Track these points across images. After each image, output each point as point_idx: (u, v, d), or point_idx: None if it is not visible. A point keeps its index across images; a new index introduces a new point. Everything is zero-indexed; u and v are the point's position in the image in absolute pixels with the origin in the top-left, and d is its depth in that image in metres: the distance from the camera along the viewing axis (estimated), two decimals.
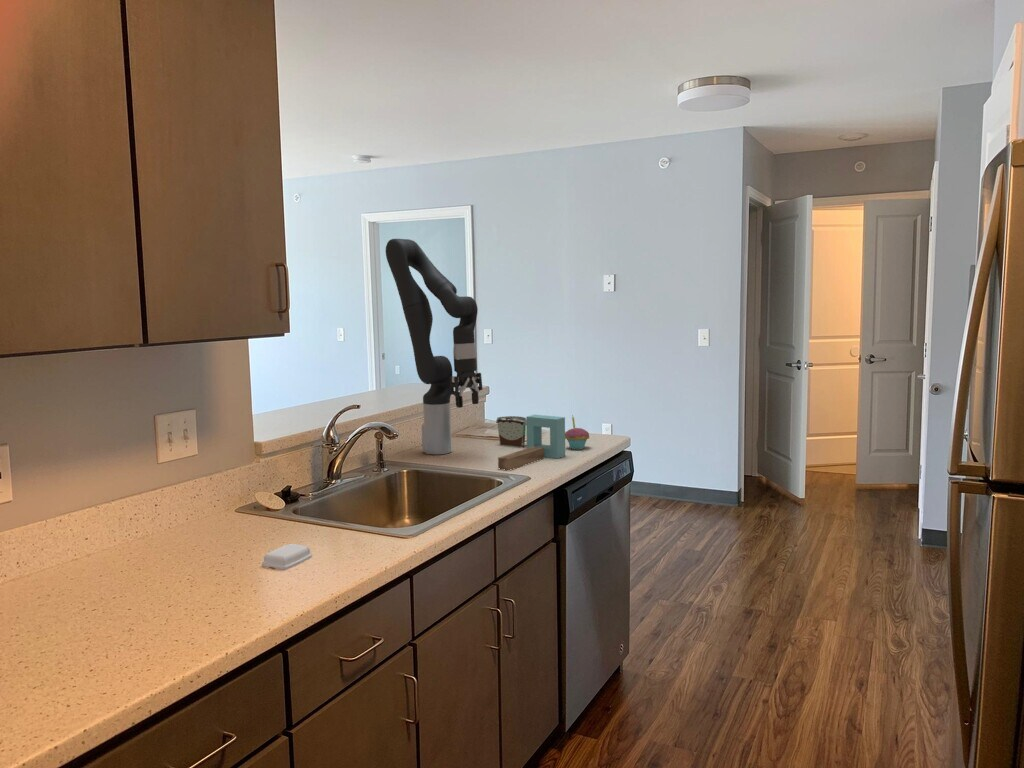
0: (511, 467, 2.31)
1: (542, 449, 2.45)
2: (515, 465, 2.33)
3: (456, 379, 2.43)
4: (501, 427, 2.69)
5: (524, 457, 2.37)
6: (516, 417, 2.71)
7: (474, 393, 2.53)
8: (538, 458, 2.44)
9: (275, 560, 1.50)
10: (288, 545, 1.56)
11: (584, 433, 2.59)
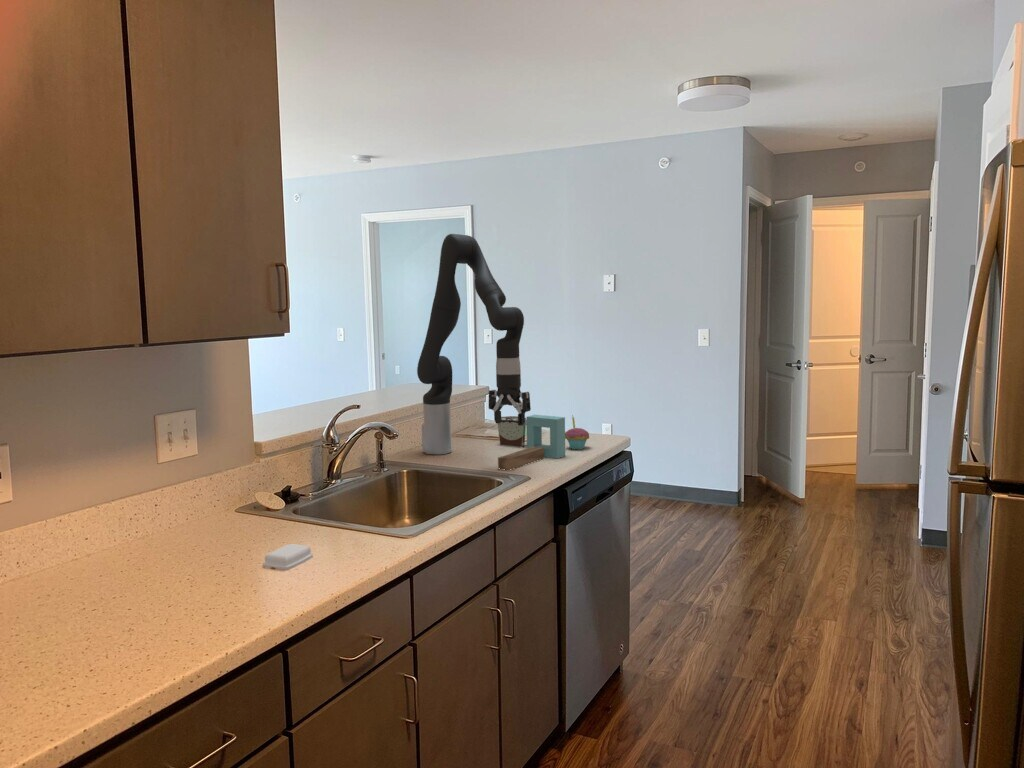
0: (511, 467, 2.31)
1: (542, 449, 2.45)
2: (515, 465, 2.33)
3: None
4: (501, 427, 2.69)
5: (524, 457, 2.37)
6: (516, 417, 2.71)
7: (499, 411, 2.35)
8: (538, 458, 2.44)
9: (277, 560, 1.50)
10: (289, 545, 1.56)
11: (584, 433, 2.59)
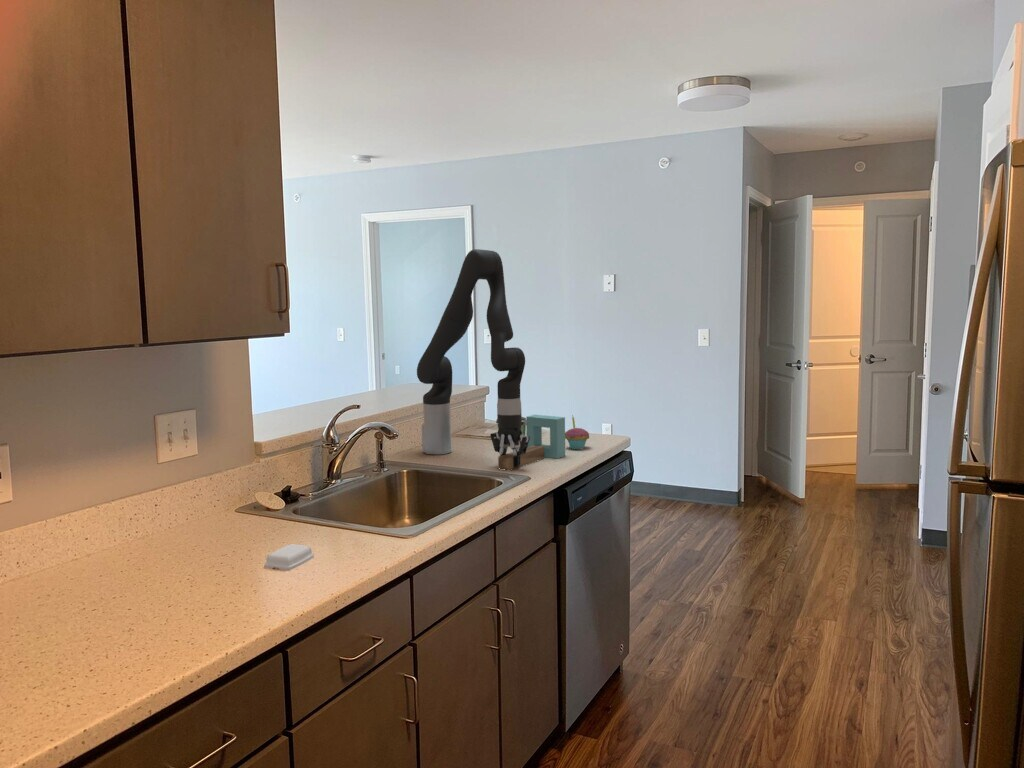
0: (511, 466, 2.31)
1: (542, 448, 2.45)
2: None
3: None
4: None
5: (524, 456, 2.37)
6: None
7: None
8: (538, 457, 2.44)
9: (279, 561, 1.49)
10: (289, 546, 1.56)
11: (584, 433, 2.59)
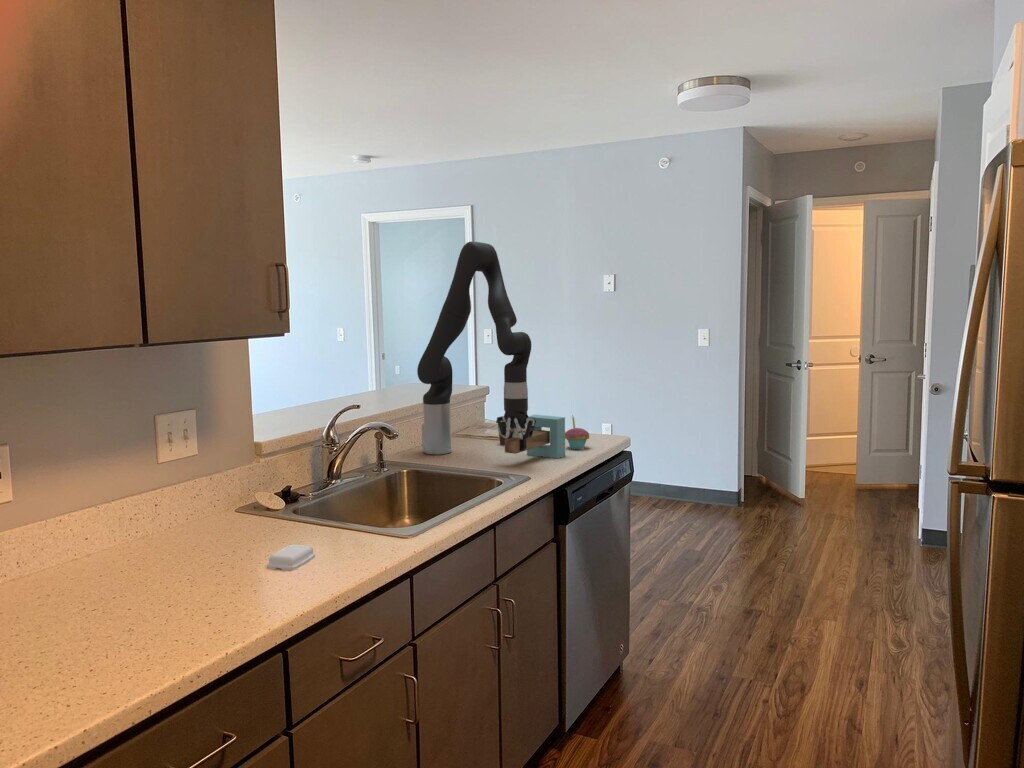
0: (517, 449, 2.34)
1: (548, 432, 2.48)
2: None
3: None
4: None
5: (530, 440, 2.39)
6: None
7: None
8: (544, 441, 2.46)
9: (282, 561, 1.49)
10: (291, 546, 1.55)
11: (584, 433, 2.59)
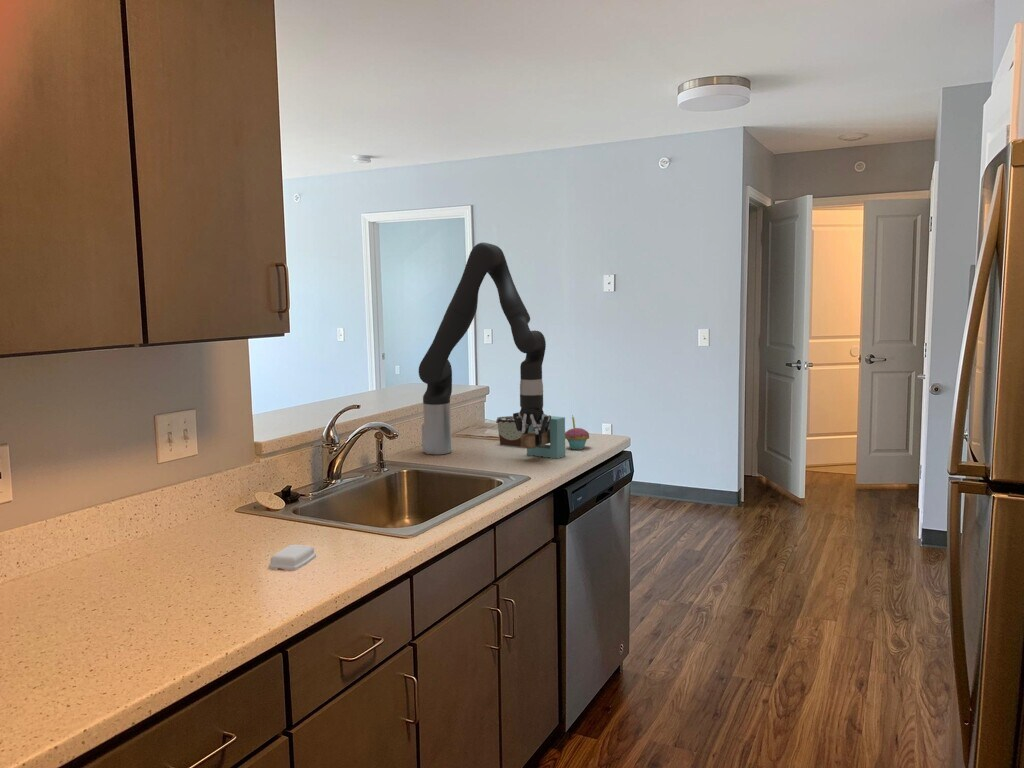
0: (533, 444, 2.41)
1: None
2: None
3: None
4: (501, 427, 2.69)
5: (545, 435, 2.46)
6: None
7: None
8: None
9: (284, 561, 1.49)
10: (291, 546, 1.55)
11: (584, 433, 2.59)
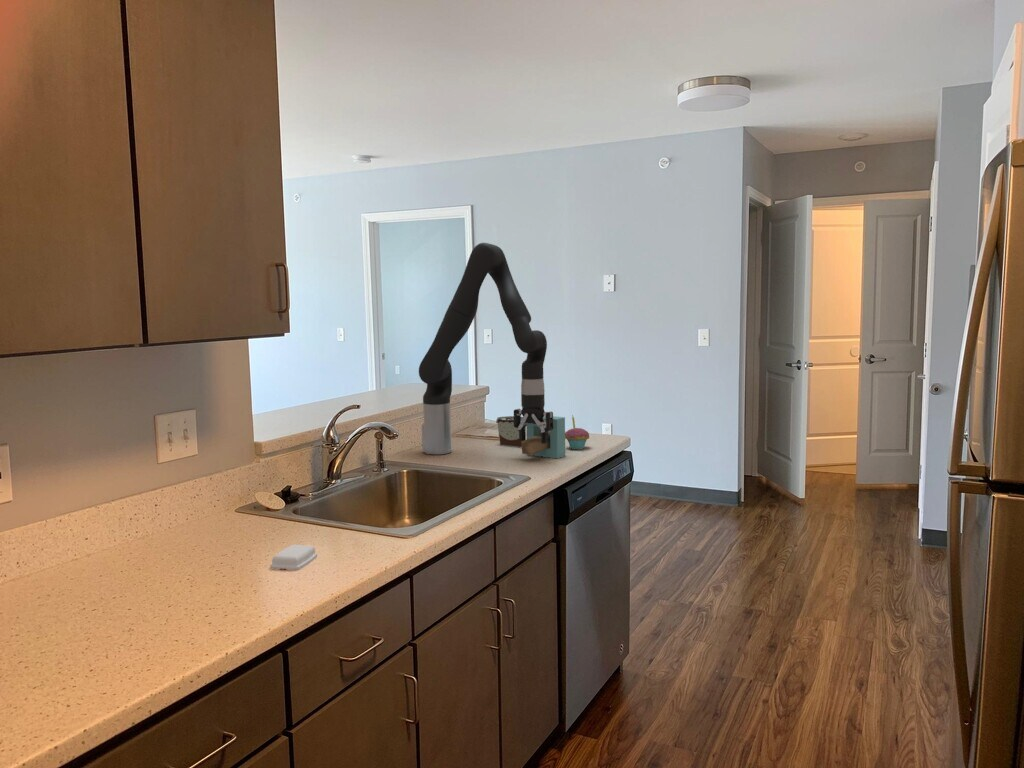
0: (534, 450, 2.42)
1: None
2: (538, 448, 2.43)
3: None
4: (501, 427, 2.69)
5: None
6: None
7: (523, 430, 2.46)
8: None
9: (286, 561, 1.49)
10: (292, 546, 1.55)
11: (584, 433, 2.59)
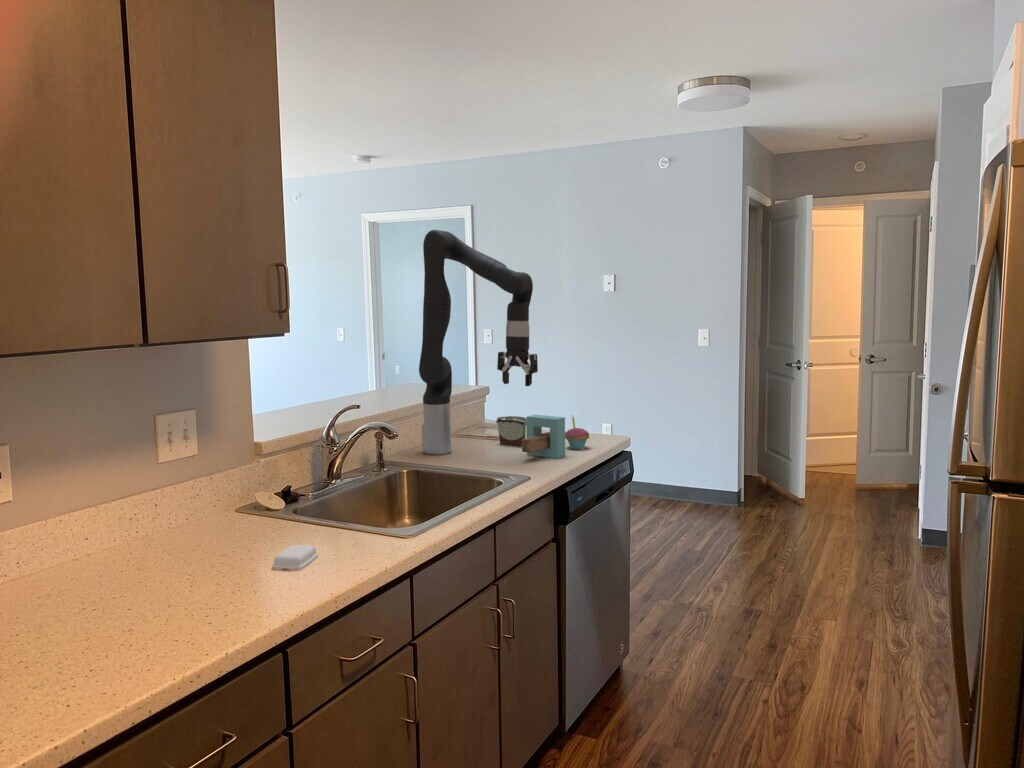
0: (534, 449, 2.42)
1: None
2: (538, 447, 2.43)
3: None
4: (501, 427, 2.69)
5: (546, 439, 2.47)
6: (516, 417, 2.71)
7: (507, 372, 2.45)
8: None
9: (289, 561, 1.49)
10: (293, 546, 1.55)
11: (584, 433, 2.59)
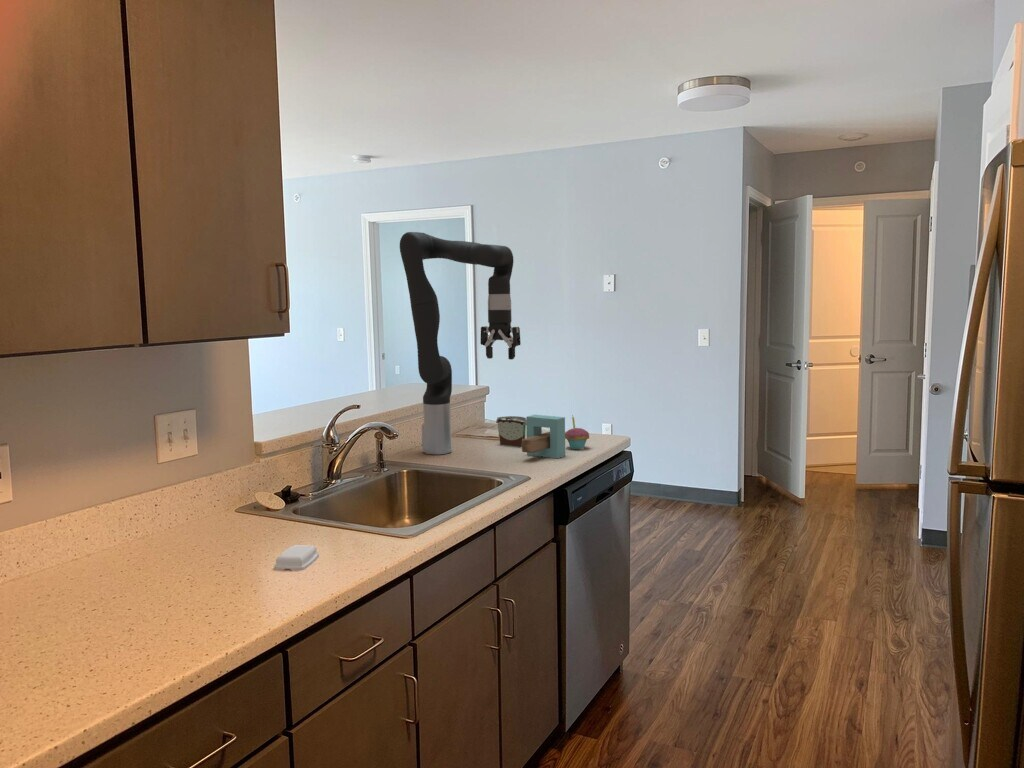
0: (534, 449, 2.42)
1: None
2: (538, 447, 2.43)
3: None
4: (501, 427, 2.69)
5: (546, 439, 2.47)
6: (516, 417, 2.71)
7: (490, 347, 2.44)
8: None
9: (291, 562, 1.49)
10: (294, 547, 1.55)
11: (584, 433, 2.59)
